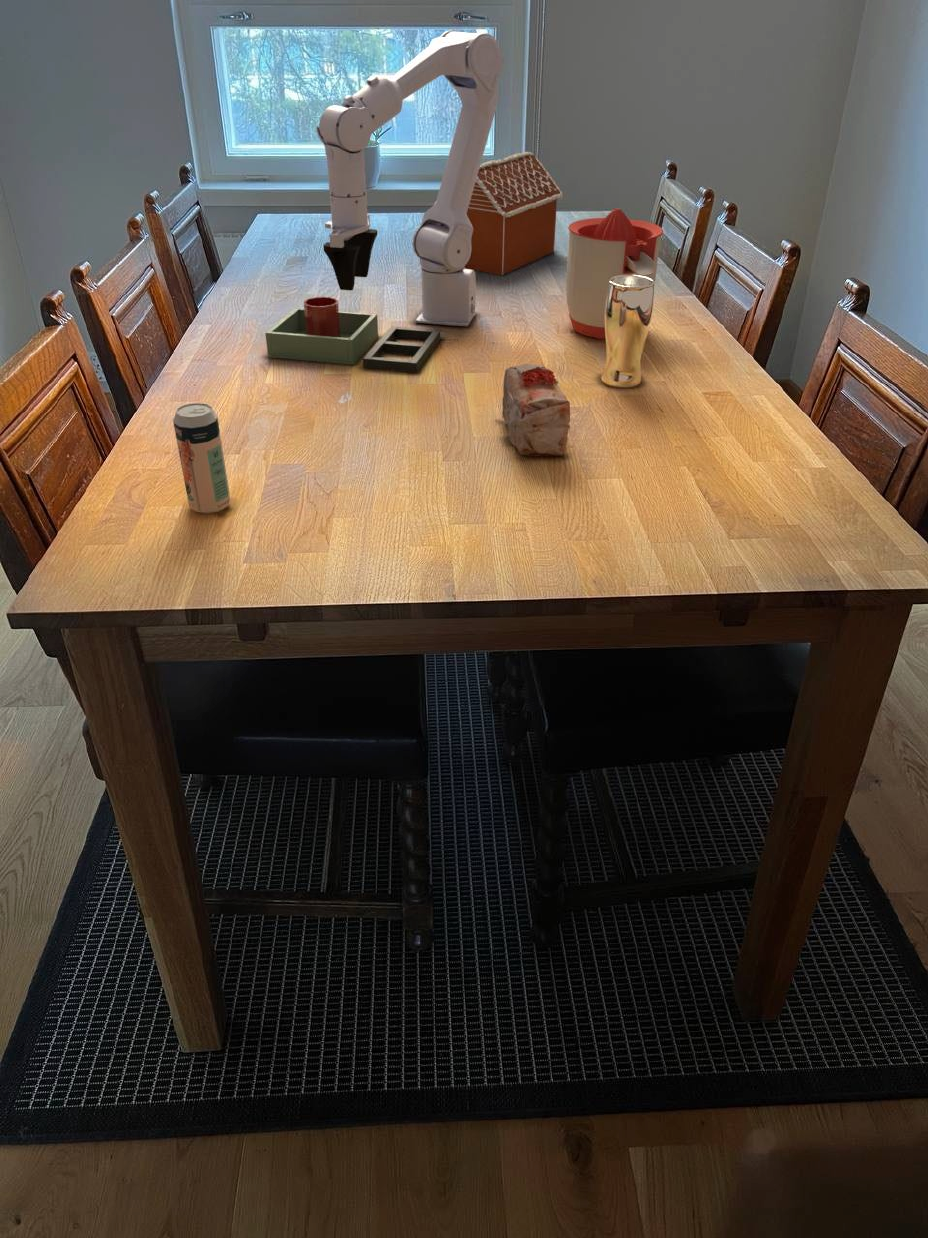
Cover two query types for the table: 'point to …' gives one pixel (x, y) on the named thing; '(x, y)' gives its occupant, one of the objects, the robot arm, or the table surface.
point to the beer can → (202, 457)
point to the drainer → (402, 349)
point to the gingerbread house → (511, 214)
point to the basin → (322, 338)
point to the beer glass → (626, 328)
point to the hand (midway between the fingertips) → (354, 282)
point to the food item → (535, 411)
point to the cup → (322, 316)
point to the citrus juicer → (605, 264)
